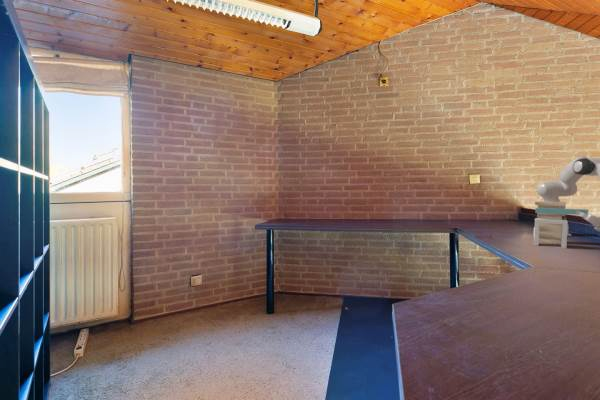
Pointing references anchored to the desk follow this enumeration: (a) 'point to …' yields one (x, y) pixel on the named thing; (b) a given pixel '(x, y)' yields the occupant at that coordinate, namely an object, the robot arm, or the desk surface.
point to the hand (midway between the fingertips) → (575, 211)
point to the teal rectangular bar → (560, 211)
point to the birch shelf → (549, 231)
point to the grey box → (551, 221)
